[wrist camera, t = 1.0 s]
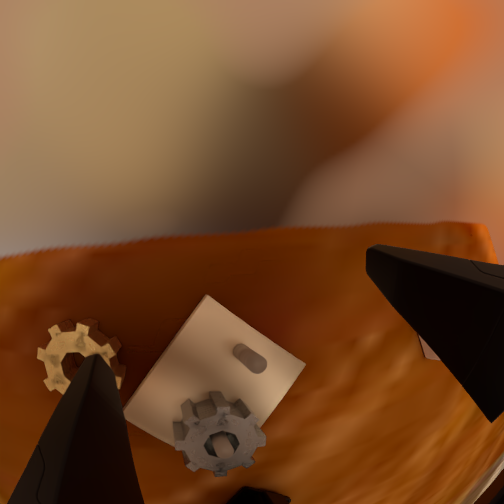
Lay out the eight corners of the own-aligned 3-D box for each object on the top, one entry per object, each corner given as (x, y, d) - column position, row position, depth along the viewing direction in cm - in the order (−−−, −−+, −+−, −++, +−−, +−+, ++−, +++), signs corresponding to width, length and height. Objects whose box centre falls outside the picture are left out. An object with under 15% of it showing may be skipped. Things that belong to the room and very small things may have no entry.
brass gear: (102, 409, 17) (94, 425, 14) (41, 360, 16) (26, 369, 13) (140, 354, 19) (137, 364, 16) (76, 301, 18) (63, 303, 15)
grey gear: (232, 462, 18) (242, 482, 15) (162, 442, 17) (163, 462, 14) (264, 406, 20) (279, 420, 17) (192, 380, 18) (197, 394, 16)
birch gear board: (221, 462, 19) (237, 495, 14) (122, 409, 17) (113, 441, 12) (299, 360, 22) (332, 376, 18) (205, 294, 21) (218, 297, 16)
